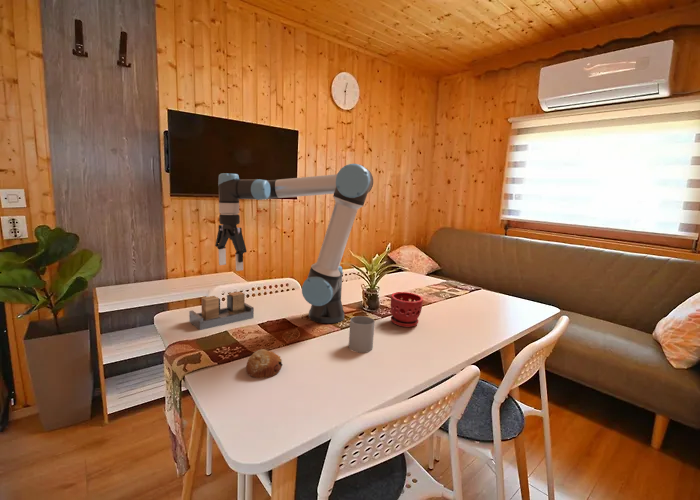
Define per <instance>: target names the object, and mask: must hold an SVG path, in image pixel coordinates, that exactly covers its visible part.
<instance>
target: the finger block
mask: <svg viewBox="0 0 700 500" xmlns="http://www.w3.org/2000/svg"><path fill="white" fill-rule="evenodd" d="M200 298H201V312H202V317H203V319H204V320H208V319H213V318H217V317H219V314H220V309H221V298H219V297H218V296H215V295H211V296H206V297H205V296H204V297H200Z"/></svg>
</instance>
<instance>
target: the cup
mask: <svg viewBox="0 0 700 500" xmlns="http://www.w3.org/2000/svg"><path fill="white" fill-rule="evenodd" d="M375 324H376V323H375V320H374V318H372V317H370V316H366V315H365V316H364V315H357V316H352V317H351V318H350V320H349V334H348V335H349V337H348V348H349V350H350V351H352V352H355V353H362V354H365V353H369V352H372V350H373V349H374V335H375Z"/></svg>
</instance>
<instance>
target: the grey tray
mask: <svg viewBox="0 0 700 500" xmlns="http://www.w3.org/2000/svg"><path fill="white" fill-rule="evenodd" d="M245 296H246V295H245V293H244V292H242V291H234V292H229V293H228V294H226V307H222V308H220V314H219V317H217V318H213V319H208V320H204V319H203V317H202V311H201V312H198V313H197V312H196V311H194V310H189V311H188V312H189V315H188V316H189V323H190V324H192V326H194V327H195V328H196V329H198V330H199V331H202V330H206V329H210V328H215V327H220V326H224V325H228V324H233V323H238V322H241V321H246V320H251V319H254V306H252V305H250V304H248V303H246V302H245V298H246V297H245Z"/></svg>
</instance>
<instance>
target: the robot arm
mask: <svg viewBox="0 0 700 500" xmlns="http://www.w3.org/2000/svg"><path fill="white" fill-rule="evenodd" d="M217 182H218V183H217V184H218V185H217V186H218V213H219V217H218V218H219V220H218V221H219V225H218V231H217V236H216V239H215V244H214V246H215V248H217V250H218V266H225V265H227V254H226V253H227V248H226V245H227V243H228V241H229V240H230V241H231V242H232V245H233V247H234V249H235V253H234V254H235V271H236V272H237V271H238V272H239V271H244V254H245V253H247V247H246V243H245V240H244V236H243V231H242V230H243V229H242V227H237V225H239V224H240V222H241V221H240V200H257V201H262V200H264V201H265V200H272V199H282V198H283V199H284V198H297V197H308V196H321V195H323V196H324V195H332V197H333V199H334V202H335V204H334V206H333V209H332V212H331V215H330V219H329V222H328V225H327V228H326V230H325V231H326V232H325V233H324V234H325V235H324V237H323V241H322V245H321V246H320V247H321V248H320V250H319V253H318V256H317V260H316V262H315V263H313V264H311V265H310V269H309V272H308V275H307V278H306V279H305V280H304V281H303V283H302V286H301V294H302V297H303V298H304V300H305V301H306V302H307V303H308V304H310V305H311V306H310V309H309V311H308V318H309V319H310V320H311V321H313V322H316V323H320V324H335V323H339V322H341V321H344V319H345V311H344V307H343V303H342V288H343V287H342V285H343V273H344V272H343V267H342V266H341V262H342V258H343V256H344V252H345V249H346V246H347V244H348V241H349V237H350V235H351V234H350V233H351V232H352V228H353V225H354V223H355V222H354V221H355V219H356V216H357V213H358V210H359V209H361V208H362V207H364V205H365V201H366V199H367V196H368V194H369V193H370V192H371V191H372V189H373V187H374V176H373V174H372V173H371V171H370V170H369V169H367V168H366V167H365V166H364V165H361V163H360V164H358V163H348V164H346V165H344V166H342V167H341V168H340V169H339V170H338V172H337V173H336V174H326V175H325V174H324V175H314V176H302V177H293V178H292V177H290V178H281V179H270V180H269V179H268V180H267V179H260V178H259V179H258V178H255V179H247V178H245V179H241V178H240V177H239V174H238V173H227V172H226V173H224V172H223V173H220V174H218V181H217Z"/></svg>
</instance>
